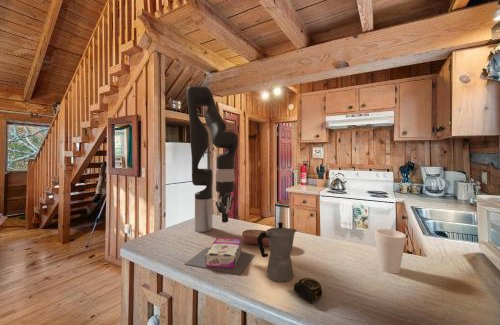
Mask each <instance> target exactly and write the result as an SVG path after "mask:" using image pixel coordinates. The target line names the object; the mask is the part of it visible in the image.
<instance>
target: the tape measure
mask: <svg viewBox="0 0 500 325" xmlns="http://www.w3.org/2000/svg"><path fill="white" fill-rule="evenodd" d="M293 291H294V292H295V293H296V295H297V294H298V295H299V296H300V297H302V298H304V299H305V300H306V301H308V302H310V303H311V304H313V303H314V302H315V301H317V300H319V299H320V298H321V296H322V294H323V290H322V286H321V283H320V282H319V281H318V280H315V279H313V278H310V277H309V278H308V277H305V278H304V277H303V278H301V279H300V280H298V281H297V282H296V283H294V285H293Z"/></svg>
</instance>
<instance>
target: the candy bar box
mask: <svg viewBox="0 0 500 325" xmlns="http://www.w3.org/2000/svg"><path fill="white" fill-rule="evenodd" d="M208 248H209V250H208V251H207V252H206V263H205V266H207V267H223V268H235V267H236V264H237V262H238V259H239V256H240V254H241V253H242V251H243V238H242V239H241V238H229V237H228V238H227V237H216V239H215V240H214V242H213V243H212V244H211V245H210V247H208Z"/></svg>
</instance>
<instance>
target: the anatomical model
mask: <svg viewBox="0 0 500 325" xmlns="http://www.w3.org/2000/svg"><path fill="white" fill-rule="evenodd" d="M266 231H267V230H261V229H246V230H244V231H242V234H241V235H242V239H243V240H244V241H245V243H247V244H251V245H258V243H257V237H258V236H259V234H260V233H261V232H266ZM262 242H263V247H269V242H268V238H263V239H262Z"/></svg>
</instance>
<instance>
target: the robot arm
mask: <svg viewBox="0 0 500 325" xmlns="http://www.w3.org/2000/svg"><path fill="white" fill-rule="evenodd" d="M186 104H187V110H188V112H187V113H188V119H189V120H188V121H189V143H190V152H191V153H190V154H191V183H192V184H193V186H196V187H197V186H203V187H204V186H206V187H205V188H204V189H202V190H200V191H197V192H195V194H194V231H195V232H197V233H207V232H210V231H212V230H213V179H214V178H213V170H212V169H211V168H199V164H200V161H201V160H202V159H203V156H204V155H205V153H206V152H207V150H208V148H209V144H210V138H211V142H212V145H213V146H214V147H215V148H218V149H225V151H224V153H220V154H218V155H216V172H215V192H217V193H218V201H216V202H215V206H216V208H217V210H218V211H217V212H218V213H219V214H221V222H222V223H225V224H226V223H228V222H229V213H230V211H232V206H233V202H234V196H232V193H234V192H235V155H236V153H237V148H238V146H239V136H238V134H237V133H236V132H235V131H230V130H226V129H227V125H226V124H227V123H226V122H225V120H224V119H223V117H222V116H221V115H220V113H219V110H218V108H217V104H216V102H215V99H214V96H213V94H212V92H211V90H210V88H209V87H208V86H199V85H198V86H197V85H196V86H195V85H193V86H192V85H191V86H188V87H187V88H186ZM197 107H207V108H206V112H205V115H204V120H205V123H206V125H207V127H208V129H209V131H210V135H211V136H210V135H209V131H208V129H207V127H206V126H205V124H204V123H203V122H202V120H201V119H200V117H199V115H198V111H197ZM209 136H210V137H209Z"/></svg>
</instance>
